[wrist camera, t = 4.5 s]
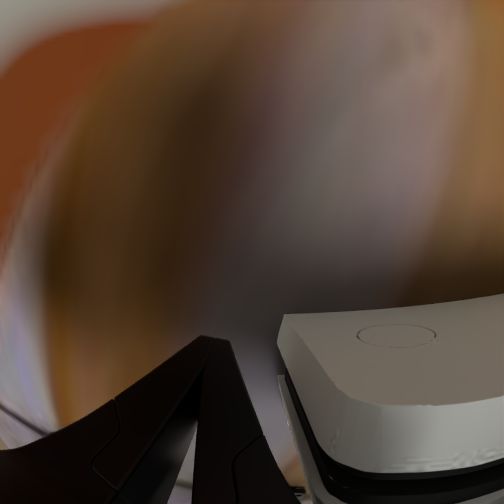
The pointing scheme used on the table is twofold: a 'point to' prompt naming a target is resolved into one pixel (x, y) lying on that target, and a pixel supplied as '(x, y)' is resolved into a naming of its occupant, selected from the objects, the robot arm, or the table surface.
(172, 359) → the robot arm
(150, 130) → the table surface
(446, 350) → the white rounded block
